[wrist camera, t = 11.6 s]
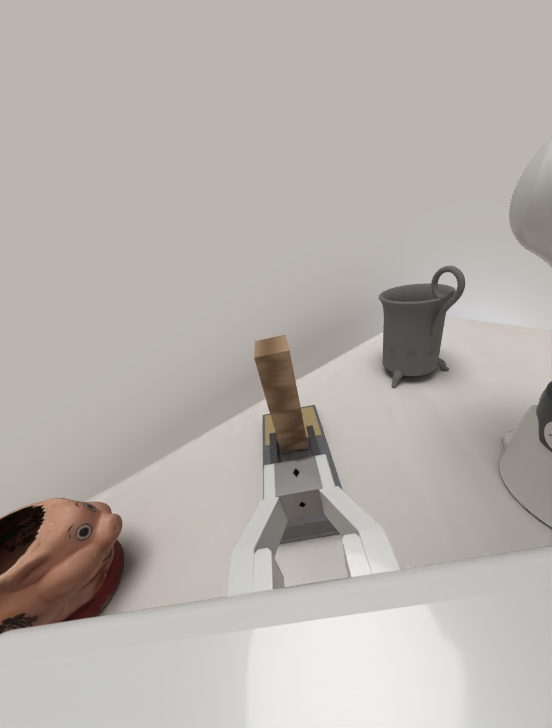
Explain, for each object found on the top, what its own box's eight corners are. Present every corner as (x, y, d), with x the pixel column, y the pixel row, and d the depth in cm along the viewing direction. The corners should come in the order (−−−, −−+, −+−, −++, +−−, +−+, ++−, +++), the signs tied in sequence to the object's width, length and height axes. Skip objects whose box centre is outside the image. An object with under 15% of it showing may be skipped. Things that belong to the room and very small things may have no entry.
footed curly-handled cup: (362, 364, 63) (359, 270, 52) (409, 349, 65) (417, 254, 53) (412, 404, 47) (425, 278, 35) (474, 383, 49) (506, 256, 37)
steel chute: (315, 408, 52) (313, 394, 50) (354, 531, 30) (353, 515, 28) (263, 418, 52) (259, 404, 51) (265, 547, 30) (258, 531, 29)
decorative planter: (-66, 749, 22) (-258, 738, 15) (0, 598, 32) (-99, 551, 25) (153, 596, 28) (86, 541, 22) (150, 511, 38) (104, 456, 32)
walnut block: (303, 424, 47) (285, 334, 37) (308, 448, 41) (289, 350, 32) (279, 429, 47) (255, 341, 37) (281, 453, 42) (254, 357, 32)
